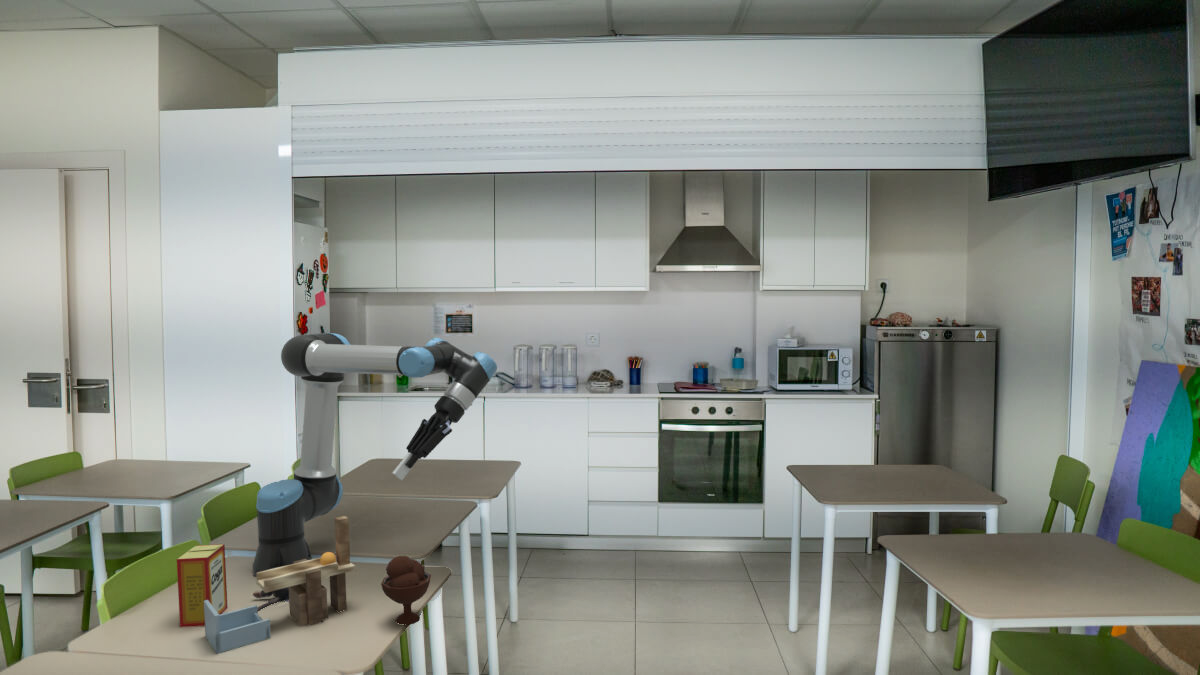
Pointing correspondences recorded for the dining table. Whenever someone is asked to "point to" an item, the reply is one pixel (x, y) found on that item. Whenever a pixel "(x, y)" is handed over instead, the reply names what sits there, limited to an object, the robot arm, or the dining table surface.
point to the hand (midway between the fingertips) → (397, 476)
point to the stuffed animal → (279, 594)
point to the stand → (316, 597)
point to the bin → (234, 627)
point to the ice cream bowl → (405, 585)
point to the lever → (310, 564)
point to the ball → (328, 558)
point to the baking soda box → (201, 583)
